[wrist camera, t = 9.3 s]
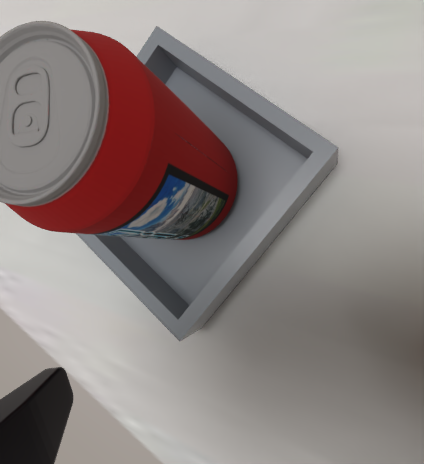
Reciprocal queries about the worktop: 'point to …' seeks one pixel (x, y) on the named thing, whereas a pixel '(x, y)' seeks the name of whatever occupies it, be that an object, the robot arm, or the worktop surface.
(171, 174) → the beverage can
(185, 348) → the worktop surface
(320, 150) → the tray
